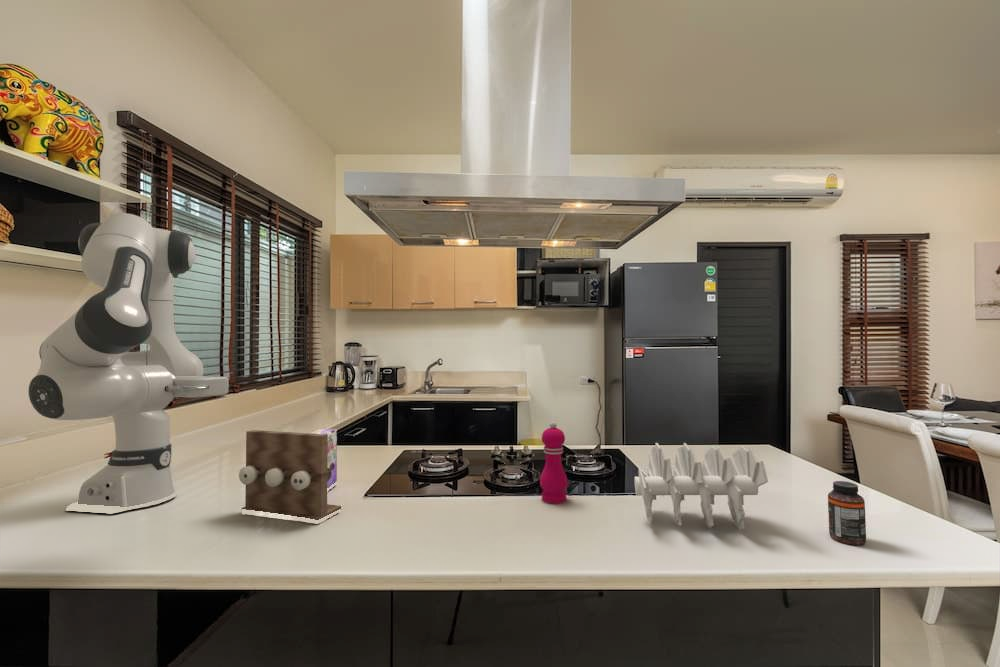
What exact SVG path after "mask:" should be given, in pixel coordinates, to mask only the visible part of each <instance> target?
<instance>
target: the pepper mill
mask: <svg viewBox="0 0 1000 667" xmlns="http://www.w3.org/2000/svg"><path fill="white" fill-rule="evenodd" d="M565 440H566V436H565V433H564V432H563V430H561V429H560V428H558V427H557V423H556V422H555V421H551V422H550V423H549V427H548V428H546V429H545V430H543V432H542V434H541V441H542V443H543V445H544V446H543V453H544V454H545V464H544V468H543V470H542V471H541V473H540V474H541V475H540V478H539V485H540V487H541V489H542V492H541V500H542V501H543V502H544V503H548V504H562V503H565V502H566V501H567V493H566V492H565V490H566V489H567V488H568V485H569V482H568V477H567V474H566V471H565V469H564V467H563V464H562V454H563V453H564V450H563V449H564V447H563V444H564V443H565Z"/></svg>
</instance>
